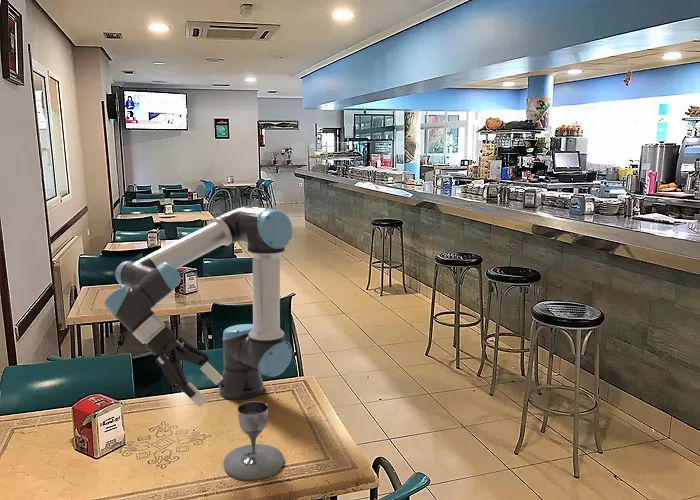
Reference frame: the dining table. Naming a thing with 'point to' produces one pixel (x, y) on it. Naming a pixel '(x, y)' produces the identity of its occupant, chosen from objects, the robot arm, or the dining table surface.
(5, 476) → the dining table surface
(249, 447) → the plate
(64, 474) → the dining table surface
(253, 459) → the wine glass
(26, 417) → the dining table surface
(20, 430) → the dining table surface
